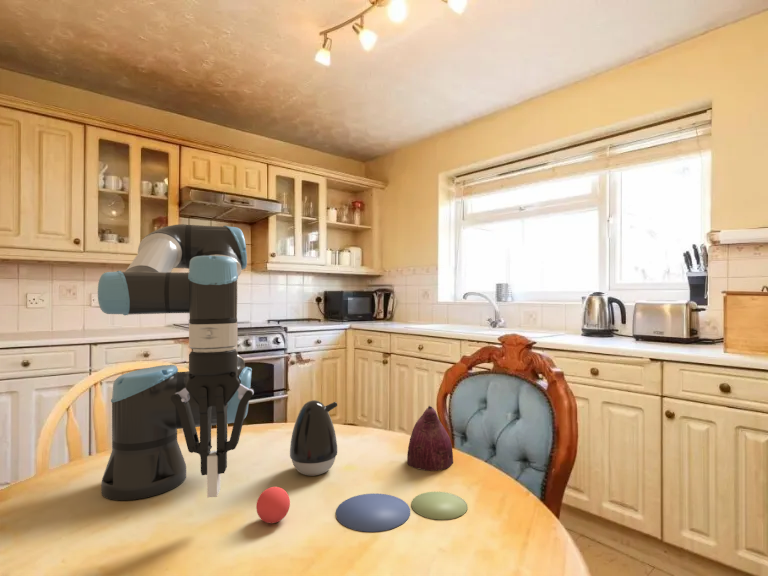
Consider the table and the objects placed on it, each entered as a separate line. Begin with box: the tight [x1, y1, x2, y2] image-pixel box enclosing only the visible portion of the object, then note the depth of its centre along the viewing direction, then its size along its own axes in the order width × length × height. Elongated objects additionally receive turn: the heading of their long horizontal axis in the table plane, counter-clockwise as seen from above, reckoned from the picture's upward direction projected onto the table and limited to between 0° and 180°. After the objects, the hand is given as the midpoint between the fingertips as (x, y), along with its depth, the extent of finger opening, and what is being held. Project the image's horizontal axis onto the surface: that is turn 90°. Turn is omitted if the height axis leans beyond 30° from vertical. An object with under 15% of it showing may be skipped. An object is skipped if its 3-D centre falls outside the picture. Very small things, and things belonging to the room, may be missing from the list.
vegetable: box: [406, 405, 454, 472], centre depth 96 cm, size 10×10×15 cm
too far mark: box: [410, 491, 468, 521], centre depth 77 cm, size 10×10×1 cm
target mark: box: [335, 493, 411, 533], centre depth 75 cm, size 13×13×1 cm
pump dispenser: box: [289, 399, 338, 477], centre depth 93 cm, size 10×10×15 cm
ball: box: [255, 486, 291, 524], centre depth 72 cm, size 6×6×6 cm
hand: (214, 493), depth 71 cm, fingers closed
